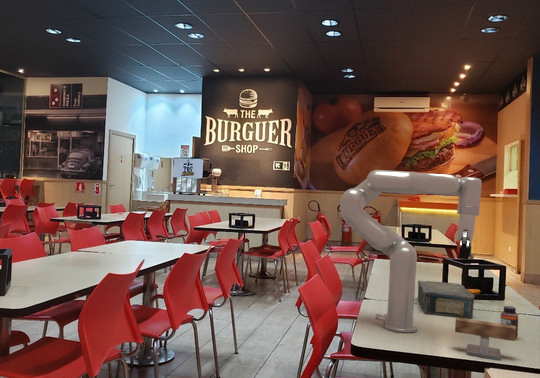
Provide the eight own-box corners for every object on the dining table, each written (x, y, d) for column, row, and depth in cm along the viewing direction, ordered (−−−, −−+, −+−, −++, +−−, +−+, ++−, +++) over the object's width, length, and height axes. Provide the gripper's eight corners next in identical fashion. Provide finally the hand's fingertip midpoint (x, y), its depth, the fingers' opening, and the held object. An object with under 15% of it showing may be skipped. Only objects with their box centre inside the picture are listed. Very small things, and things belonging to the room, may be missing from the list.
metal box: (422, 314, 211) (423, 291, 211) (415, 299, 243) (417, 279, 243) (474, 320, 207) (476, 296, 207) (461, 303, 239) (462, 283, 239)
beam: (454, 331, 163) (455, 319, 163) (455, 329, 166) (456, 317, 166) (515, 341, 156) (516, 328, 156) (514, 338, 159) (515, 325, 159)
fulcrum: (466, 354, 158) (467, 336, 158) (467, 346, 167) (468, 329, 167) (501, 360, 154) (502, 341, 154) (499, 351, 163) (500, 333, 163)
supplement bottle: (512, 335, 185) (513, 305, 185) (520, 340, 179) (522, 309, 179) (496, 334, 185) (498, 304, 185) (504, 339, 179) (506, 308, 179)
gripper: (459, 210, 189) (455, 254, 189) (455, 210, 173) (451, 258, 173) (480, 211, 186) (476, 256, 186) (478, 212, 170) (474, 261, 170)
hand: (464, 257), depth 179 cm, fingers open, 9 cm apart
